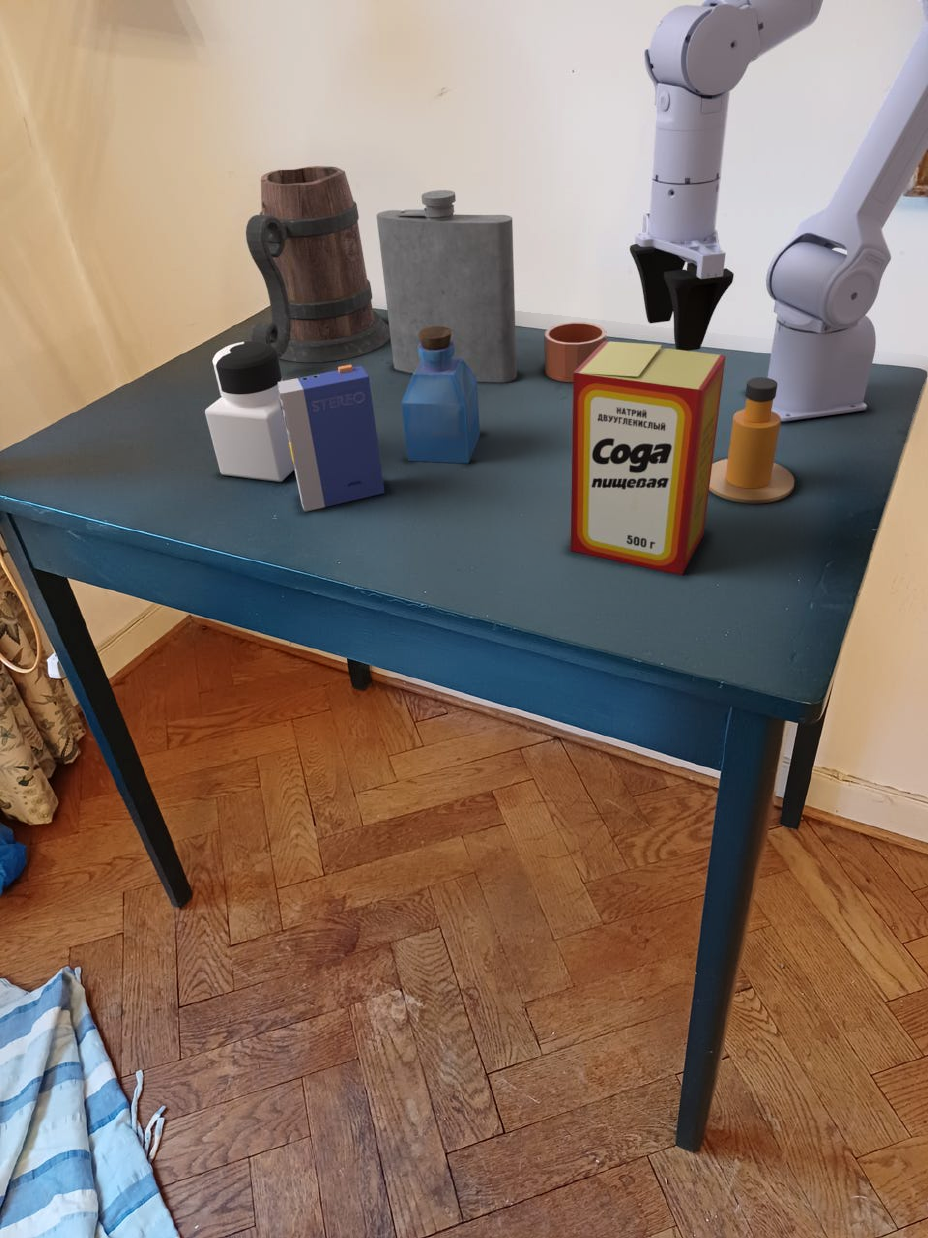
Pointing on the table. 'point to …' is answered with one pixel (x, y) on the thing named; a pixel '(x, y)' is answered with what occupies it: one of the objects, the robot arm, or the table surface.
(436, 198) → the hip flask
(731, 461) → the bottle
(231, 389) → the medicine bottle
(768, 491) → the coaster
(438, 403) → the perfume bottle
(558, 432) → the table surface
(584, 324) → the cup
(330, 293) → the tankard
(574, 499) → the baking soda box
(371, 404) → the walkman
